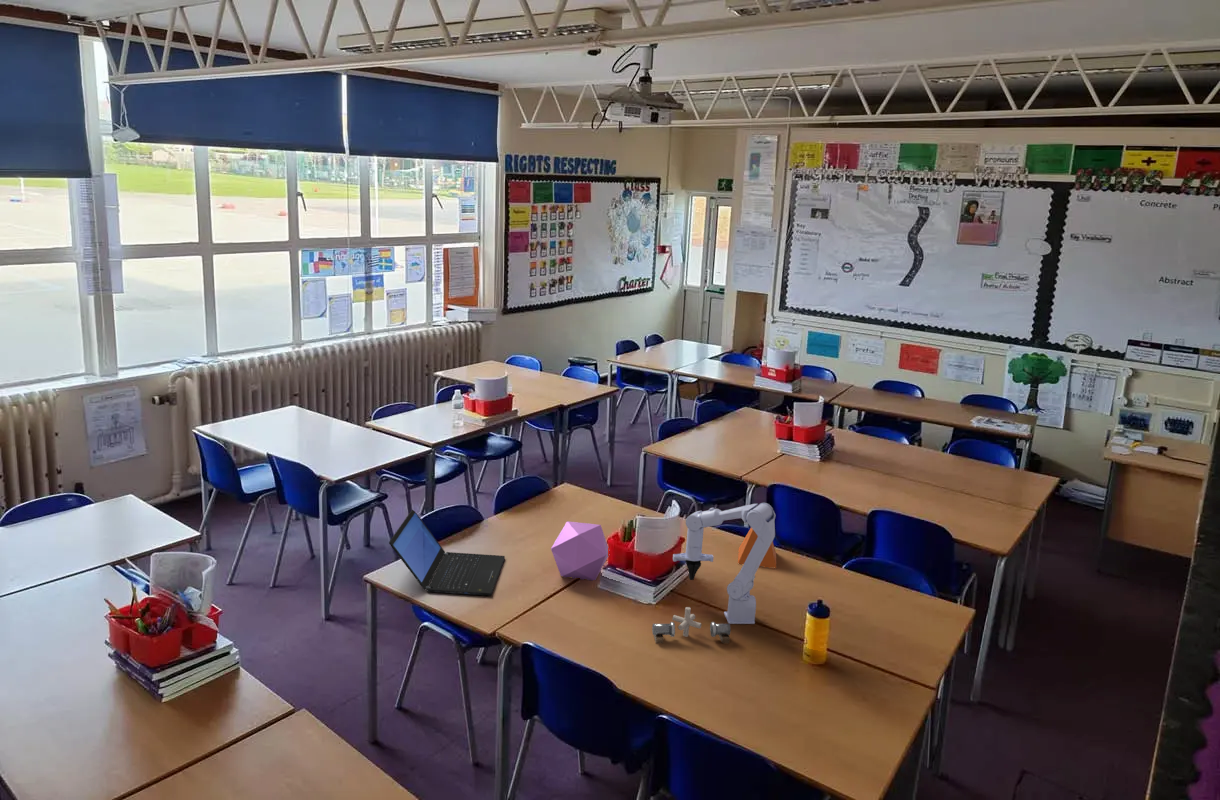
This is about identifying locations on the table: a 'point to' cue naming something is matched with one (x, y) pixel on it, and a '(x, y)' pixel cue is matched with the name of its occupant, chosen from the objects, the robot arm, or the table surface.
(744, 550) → the pyramid
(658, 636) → the grey metal fitting
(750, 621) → the robot arm
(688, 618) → the pipe connector
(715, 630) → the shaft
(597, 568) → the icosahedron
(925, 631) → the table surface
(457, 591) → the laptop
